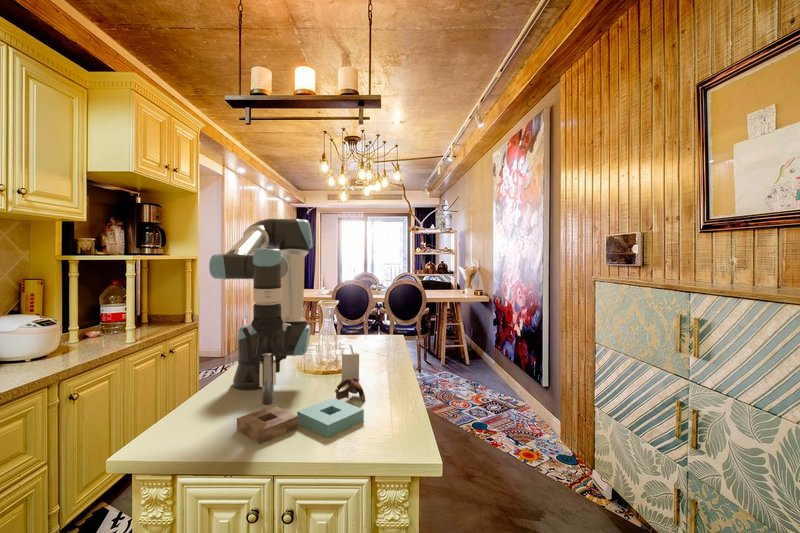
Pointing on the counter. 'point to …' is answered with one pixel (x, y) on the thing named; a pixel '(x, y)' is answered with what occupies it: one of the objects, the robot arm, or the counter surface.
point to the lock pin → (267, 379)
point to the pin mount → (267, 424)
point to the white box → (350, 366)
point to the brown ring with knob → (349, 389)
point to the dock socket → (330, 417)
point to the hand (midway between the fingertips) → (267, 384)
